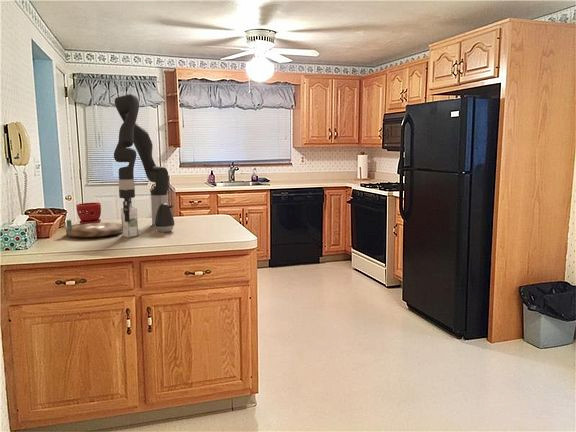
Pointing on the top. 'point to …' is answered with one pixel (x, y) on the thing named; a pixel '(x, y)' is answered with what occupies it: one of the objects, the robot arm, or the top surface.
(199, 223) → the top surface
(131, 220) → the syrup box
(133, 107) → the robot arm
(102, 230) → the disc
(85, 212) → the plant pot
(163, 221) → the pump dispenser
